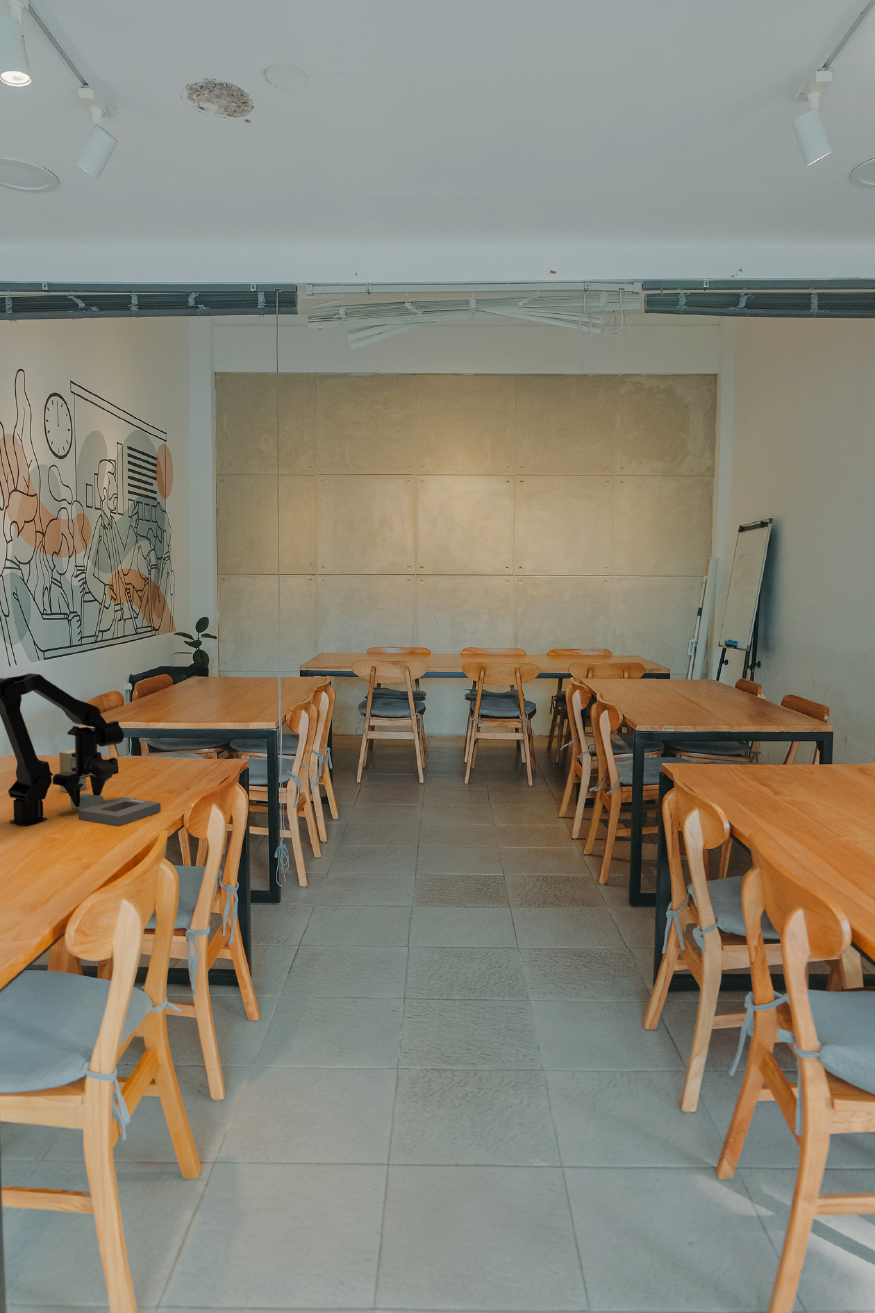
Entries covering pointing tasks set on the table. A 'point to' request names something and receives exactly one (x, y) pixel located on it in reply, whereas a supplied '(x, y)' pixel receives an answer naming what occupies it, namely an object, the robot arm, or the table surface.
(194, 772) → the table surface
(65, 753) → the skincare box
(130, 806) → the socket board
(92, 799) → the key block
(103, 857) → the table surface
